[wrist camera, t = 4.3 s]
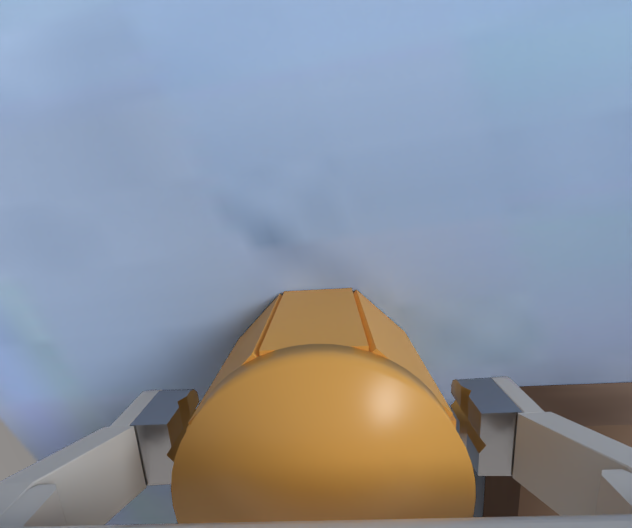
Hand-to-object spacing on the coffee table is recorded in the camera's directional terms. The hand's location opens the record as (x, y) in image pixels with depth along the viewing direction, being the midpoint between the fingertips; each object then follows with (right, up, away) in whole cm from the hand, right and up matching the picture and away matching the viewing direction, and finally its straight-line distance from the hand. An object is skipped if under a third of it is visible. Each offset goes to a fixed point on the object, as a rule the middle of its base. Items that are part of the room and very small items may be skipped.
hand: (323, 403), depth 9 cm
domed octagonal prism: (0, 0, +2) cm, 2 cm away
